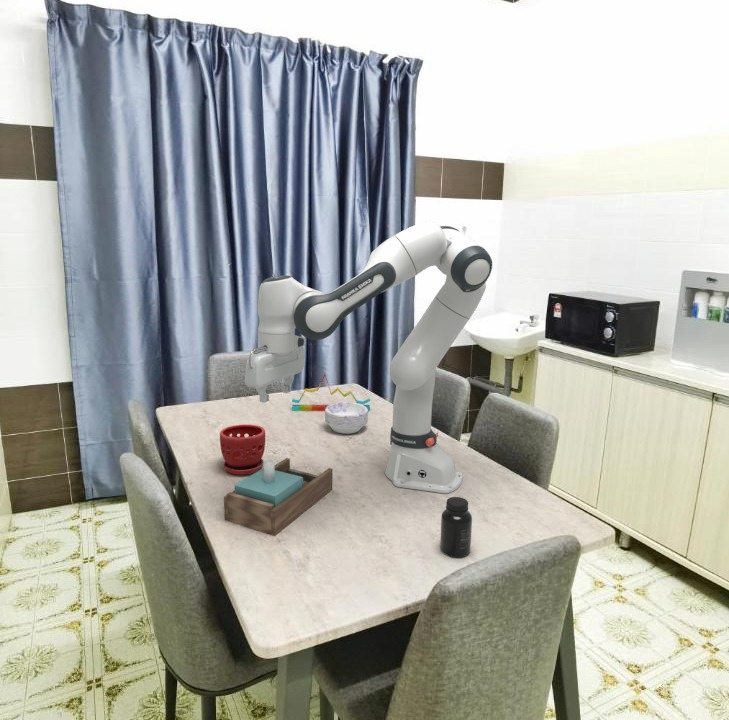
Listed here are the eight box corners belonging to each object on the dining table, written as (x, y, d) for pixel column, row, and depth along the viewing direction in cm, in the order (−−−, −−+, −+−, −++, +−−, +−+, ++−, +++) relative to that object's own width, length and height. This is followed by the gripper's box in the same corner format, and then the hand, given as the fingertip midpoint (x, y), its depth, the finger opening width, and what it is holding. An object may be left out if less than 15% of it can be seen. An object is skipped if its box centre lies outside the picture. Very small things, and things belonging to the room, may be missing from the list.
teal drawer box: (303, 501, 145) (303, 458, 143) (276, 523, 135) (275, 476, 132) (265, 491, 151) (264, 449, 148) (235, 511, 140) (233, 466, 137)
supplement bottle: (466, 541, 132) (470, 494, 129) (473, 558, 125) (476, 509, 122) (437, 541, 131) (440, 494, 129) (442, 558, 125) (445, 508, 122)
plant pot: (274, 469, 168) (274, 431, 165) (236, 482, 159) (235, 442, 156) (250, 455, 177) (249, 419, 174) (212, 467, 168) (210, 429, 166)
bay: (332, 489, 156) (332, 465, 154) (275, 535, 132) (274, 507, 131) (286, 478, 162) (286, 454, 161) (224, 520, 139) (223, 493, 137)
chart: (369, 409, 226) (370, 372, 222) (369, 411, 222) (370, 375, 219) (292, 409, 224) (292, 372, 220) (292, 411, 220) (291, 374, 217)
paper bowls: (352, 440, 192) (353, 418, 190) (316, 431, 199) (316, 409, 198) (375, 427, 204) (376, 406, 203) (340, 419, 212) (340, 399, 210)
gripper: (260, 352, 127) (260, 410, 131) (309, 337, 145) (308, 389, 148) (238, 348, 130) (238, 405, 133) (288, 334, 148) (288, 385, 151)
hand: (275, 396), depth 141 cm, fingers open, 8 cm apart
